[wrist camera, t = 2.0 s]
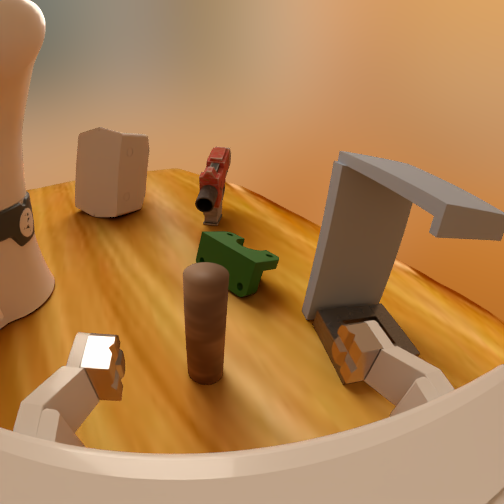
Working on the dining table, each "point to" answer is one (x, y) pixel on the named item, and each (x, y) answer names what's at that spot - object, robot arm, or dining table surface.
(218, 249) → the clamp
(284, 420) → the dining table surface
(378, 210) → the gray cantilever bracket
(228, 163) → the toy gun
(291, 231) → the dining table surface
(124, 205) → the electrical switch box
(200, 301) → the peg
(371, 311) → the socket
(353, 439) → the robot arm
